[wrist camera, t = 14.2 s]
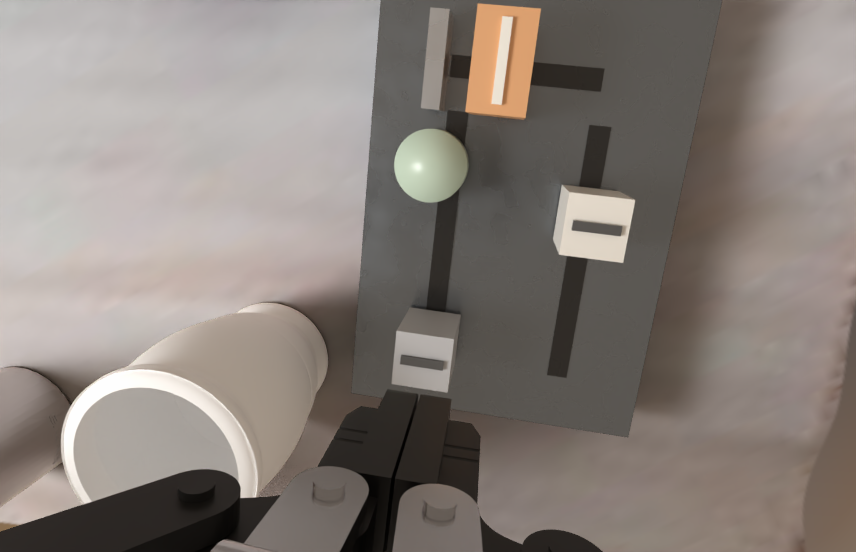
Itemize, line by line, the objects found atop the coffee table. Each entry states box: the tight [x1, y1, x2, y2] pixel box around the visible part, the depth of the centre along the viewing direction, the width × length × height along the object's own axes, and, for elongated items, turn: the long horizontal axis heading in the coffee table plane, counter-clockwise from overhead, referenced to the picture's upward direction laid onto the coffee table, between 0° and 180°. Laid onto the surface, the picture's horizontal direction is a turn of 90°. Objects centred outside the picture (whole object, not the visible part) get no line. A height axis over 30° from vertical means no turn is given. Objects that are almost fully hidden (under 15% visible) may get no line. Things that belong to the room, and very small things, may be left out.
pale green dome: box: [394, 129, 469, 203], centre depth 32 cm, size 4×4×2 cm
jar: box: [61, 303, 328, 505], centre depth 36 cm, size 11×10×15 cm
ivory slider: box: [553, 185, 635, 263], centre depth 31 cm, size 3×3×5 cm
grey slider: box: [392, 307, 461, 393], centre depth 34 cm, size 3×3×5 cm
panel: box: [351, 0, 722, 437], centre depth 35 cm, size 18×26×6 cm
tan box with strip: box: [465, 3, 541, 120], centre depth 30 cm, size 3×5×4 cm, turn 174°
